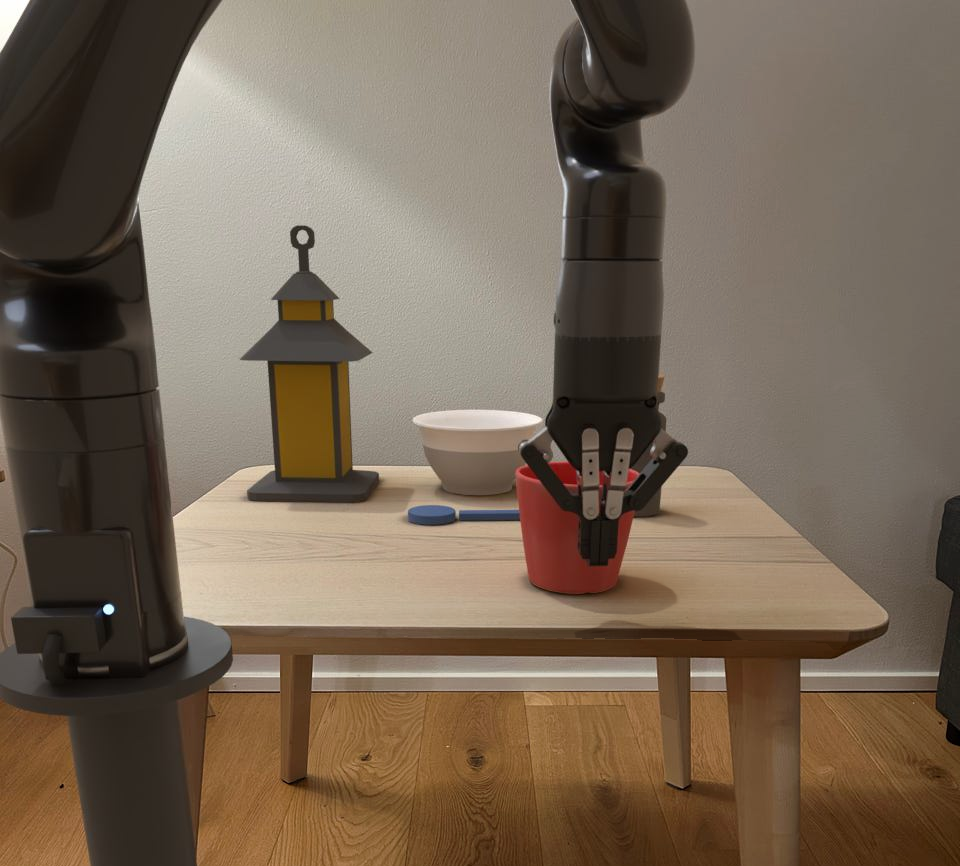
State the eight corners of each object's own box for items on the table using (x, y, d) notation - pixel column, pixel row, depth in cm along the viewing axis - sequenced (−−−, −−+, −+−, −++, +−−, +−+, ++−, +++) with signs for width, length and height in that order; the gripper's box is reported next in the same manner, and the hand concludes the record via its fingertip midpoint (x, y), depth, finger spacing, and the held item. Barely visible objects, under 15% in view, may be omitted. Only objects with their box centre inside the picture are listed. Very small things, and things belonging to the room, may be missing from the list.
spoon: (564, 512, 110) (564, 503, 109) (571, 523, 105) (571, 514, 104) (408, 513, 108) (407, 505, 108) (407, 525, 104) (407, 516, 103)
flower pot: (620, 562, 91) (626, 459, 87) (646, 600, 81) (655, 484, 77) (507, 564, 90) (509, 459, 87) (519, 602, 80) (522, 485, 77)
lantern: (273, 476, 127) (256, 227, 116) (380, 478, 126) (372, 228, 116) (244, 500, 114) (222, 222, 103) (363, 502, 113) (353, 223, 103)
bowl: (467, 508, 111) (467, 432, 108) (388, 485, 123) (386, 416, 119) (567, 490, 120) (570, 420, 117) (485, 470, 132) (486, 406, 129)
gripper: (520, 332, 65) (516, 579, 71) (714, 332, 66) (693, 577, 72) (510, 326, 72) (507, 551, 78) (686, 325, 73) (669, 549, 79)
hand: (596, 563), depth 75 cm, fingers closed
